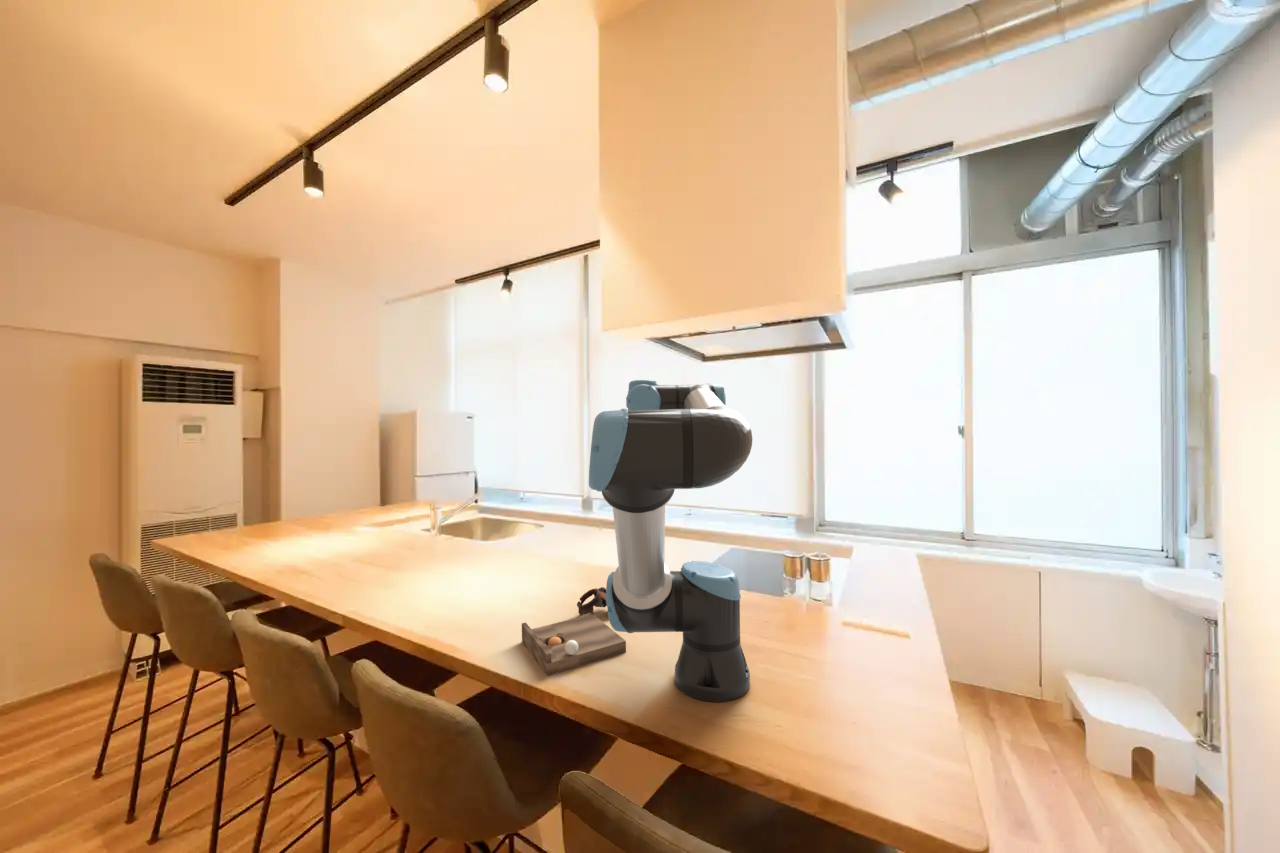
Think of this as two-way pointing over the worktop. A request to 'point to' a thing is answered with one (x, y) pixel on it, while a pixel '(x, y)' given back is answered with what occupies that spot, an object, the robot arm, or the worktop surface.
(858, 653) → the worktop surface
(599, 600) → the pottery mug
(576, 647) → the cream ball
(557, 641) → the ball
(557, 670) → the deck
